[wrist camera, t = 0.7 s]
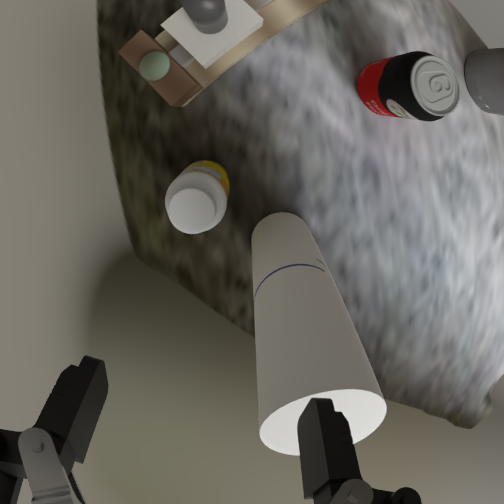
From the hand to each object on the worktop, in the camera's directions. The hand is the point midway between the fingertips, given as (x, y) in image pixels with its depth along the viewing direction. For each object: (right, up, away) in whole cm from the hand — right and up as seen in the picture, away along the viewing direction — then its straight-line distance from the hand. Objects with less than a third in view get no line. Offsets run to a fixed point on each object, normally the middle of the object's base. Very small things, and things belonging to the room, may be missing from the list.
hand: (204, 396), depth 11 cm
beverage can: (+16, +24, +18) cm, 34 cm away
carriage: (-2, +27, +13) cm, 30 cm away
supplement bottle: (-3, +13, +23) cm, 27 cm away
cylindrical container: (+5, +7, +27) cm, 28 cm away
